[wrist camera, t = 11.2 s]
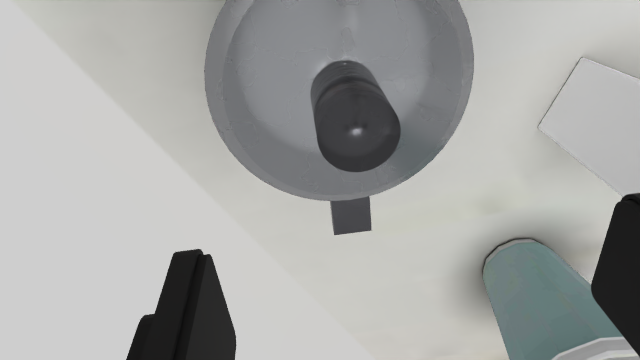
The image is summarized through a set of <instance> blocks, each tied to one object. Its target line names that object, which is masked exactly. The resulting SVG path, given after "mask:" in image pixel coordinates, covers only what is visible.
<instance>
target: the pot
mask: <svg viewBox="0 0 640 360" xmlns="http://www.w3.org/2000/svg"><path fill="white" fill-rule="evenodd" d="M436 1H437V2H438V3H439V4H440V5H441V7H442V8H443V10H444V11H445V13H446V14H447V16H448V18H449V19H450V22H451V24H452V26H453V28H454V30H455V32H456V36H457V39H458V42H459V46H460V51H461V57H462V75H463V78H462V87H461V94H460V98H459V102H458V106H457V109H456V112H455V114H454V117H453V119H452V122H451V124H450V126H449V127H448V129H447V131H446V133H445V135H444V136H443V138H442V139H441V141H440V142H439V143H438V145H437V146H436V147H435V149H434V150H433V151H432V152H431V153H430V154H429V155H428V157H427V158H425V159H424V160H423V161H422V162H421V163H420V164H419V165H418V166H417V167H415V168H414V169H412V170H411V171H410V172H408V173H407V174H406V175H404V176H402V177H400V178H399V179H397V180H395V181H393V182H391V183H389V184H387V185H384V186H382V187H380V188H377V189H373V190H370V191H367V192H362V193H357V194H349V195H323V194H316V193H311V192H307V191H303V190H299V189H297V188H294V187H292V186H289V185H287V184H285V183H283V182H281V181H279V180H277V179H275V178H274V177H272V176H271V175H269V174H268V173H267V172H265V171H264V170H263V169H261V168H260V167H259V166H258V165H257V164H256V163H255V162H254V161H253V160H252V159H251V158H250V157H249V155H248V154H247V153H246V152H245V151H244V150H243V148H242V146H241V145H240V143H239V142H238V140H237V139H236V137H235V135H234V133H233V130H232V128H231V126H230V124H229V121H228V117H227V114H226V111H225V106H224V100H223V86H222V78H223V69H224V62H225V58H226V54H227V50H228V47H229V44H230V42H231V39H232V37H233V34H234V32H235V29H236V27H237V25H238V24H239V22H240V20H241V18H242V17H243V15H244V13H245V12H246V11H247V9H248V8H249V7H250V6H251V4H252V3H253V2H254V0H227V1H226V3H225V4H224V6H223V8H222V10H221V12H220V13H219V15H218V17H217V19H216V22H215V24H214V27H213V30H212V32H211V35H210V39H209V43H208V47H207V51H206V60H205V70H204V73H205V91H206V96H207V102H208V107H209V110H210V113H211V116H212V119H213V122H214V124H215V126H216V128H217V130H218V132H219V135H220V137H221V138H222V140H223V141H224V143H225V144H226V146H227V147H228V149H229V150H230V151H231V153H232V154H233V155H234V156H235V157H236V159H237V160H238V161H239V162H240V163H241V164H242V165H243V166H244V167H245V168H247V169H248V170H249V171H250V172H251V173H252V174H254V175H255V176H257V177H258V178H259V179H261V180H262V181H264V182H266V183H267V184H269V185H271V186H273V187H275V188H277V189H279V190H282V191H284V192H287V193H289V194H292V195H296V196H299V197H303V198H308V199H314V200H323V201H330V206H331V215H332V224H333V230H334V235H339V234H347V233H355V232H362V231H370V230H371V215H370V198H369V196H371V195H374V194H378V193H381V192H383V191H385V190H388V189H390V188H393V187H395V186H397V185H398V184H400V183H402V182H404V181H406V180H407V179H409V178H410V177H412V176H413V175H415V174H416V173H417V172H419V171H420V170H421V169H423V168H424V167H425V166H426V165H427V164H428V163H429V162H430V161H432V160H433V159H434V158H435V156H436V155H437V154H438V153H439V152H440V151H441V150H442V149H443V147H444V146H445V145H446V143H447V142H448V140H449V139H450V138H451V136H452V135H453V133H454V131H455V130H456V128H457V126H458V124H459V122H460V120H461V118H462V116H463V113H464V111H465V108H466V106H467V103H468V99H469V95H470V91H471V87H472V80H473V72H474V53H473V45H472V38H471V34H470V30H469V26H468V23H467V19H466V17H465V15H464V13H463V10H462V8H461V6H460V3H459V2H458V0H436Z"/></svg>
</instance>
